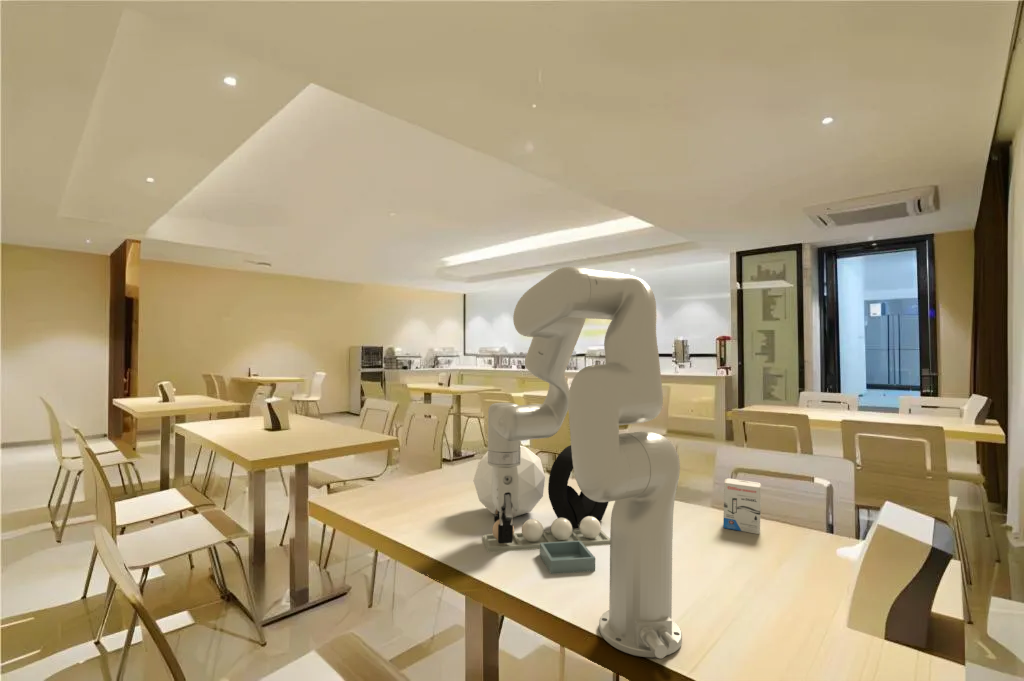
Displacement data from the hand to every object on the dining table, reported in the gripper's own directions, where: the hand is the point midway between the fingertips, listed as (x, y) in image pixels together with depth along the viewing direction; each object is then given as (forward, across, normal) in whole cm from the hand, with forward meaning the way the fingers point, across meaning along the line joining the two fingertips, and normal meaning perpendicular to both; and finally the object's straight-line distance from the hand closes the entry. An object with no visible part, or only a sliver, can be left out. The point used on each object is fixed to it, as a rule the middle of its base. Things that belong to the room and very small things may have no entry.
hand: (503, 537), depth 111 cm
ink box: (+2, +2, -62) cm, 62 cm away
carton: (+2, 0, -10) cm, 11 cm away
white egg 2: (+2, 0, -14) cm, 14 cm away
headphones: (+2, +11, -22) cm, 25 cm away
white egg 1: (+2, 0, -7) cm, 7 cm away
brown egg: (+1, 0, 0) cm, 1 cm away
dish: (+2, -12, -11) cm, 16 cm away
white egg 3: (+2, 0, -21) cm, 21 cm away
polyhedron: (+2, +21, -5) cm, 22 cm away
